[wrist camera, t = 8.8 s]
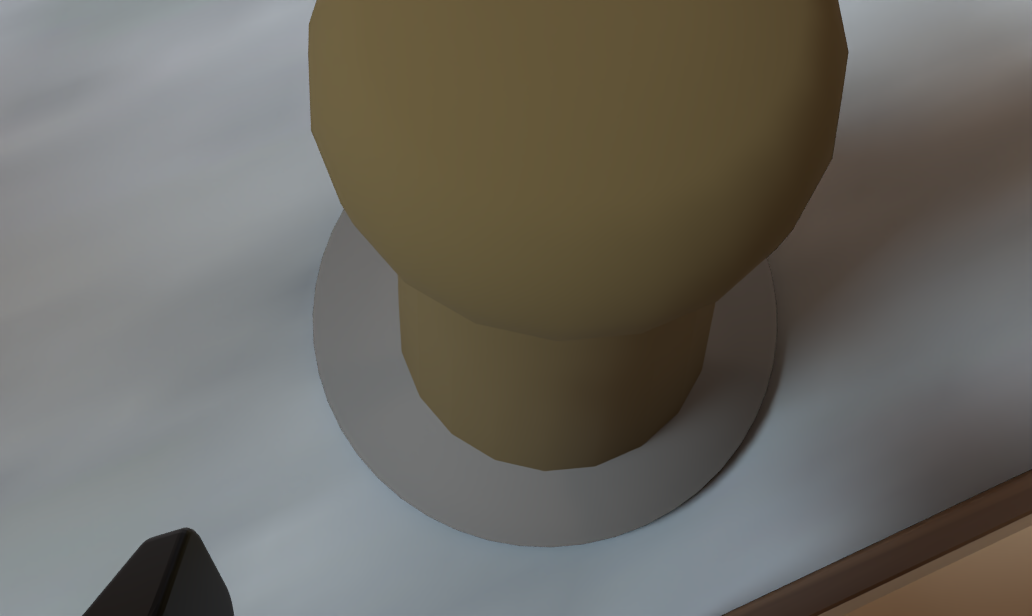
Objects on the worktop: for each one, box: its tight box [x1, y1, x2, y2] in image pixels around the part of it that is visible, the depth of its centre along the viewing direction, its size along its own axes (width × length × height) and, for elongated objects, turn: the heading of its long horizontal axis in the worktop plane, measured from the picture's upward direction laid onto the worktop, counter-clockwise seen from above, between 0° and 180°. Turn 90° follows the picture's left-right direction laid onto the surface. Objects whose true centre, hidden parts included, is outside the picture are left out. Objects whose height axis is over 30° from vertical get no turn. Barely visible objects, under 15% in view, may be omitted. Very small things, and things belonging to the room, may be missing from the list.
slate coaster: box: [313, 210, 777, 547], centre depth 19 cm, size 9×9×1 cm
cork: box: [308, 0, 848, 471], centre depth 13 cm, size 6×6×11 cm
